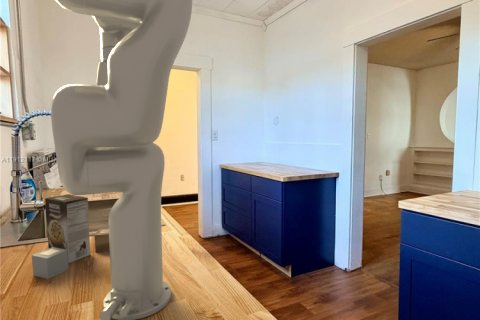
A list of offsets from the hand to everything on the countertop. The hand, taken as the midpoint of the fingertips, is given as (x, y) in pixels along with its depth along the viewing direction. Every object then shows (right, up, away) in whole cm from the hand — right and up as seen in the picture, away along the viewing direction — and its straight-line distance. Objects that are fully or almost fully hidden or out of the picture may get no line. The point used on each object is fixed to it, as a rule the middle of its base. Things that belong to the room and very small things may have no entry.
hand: (119, 126), depth 77 cm
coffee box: (-13, -35, -1) cm, 38 cm away
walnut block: (-6, -35, +4) cm, 35 cm away
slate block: (-12, -36, -10) cm, 39 cm away
